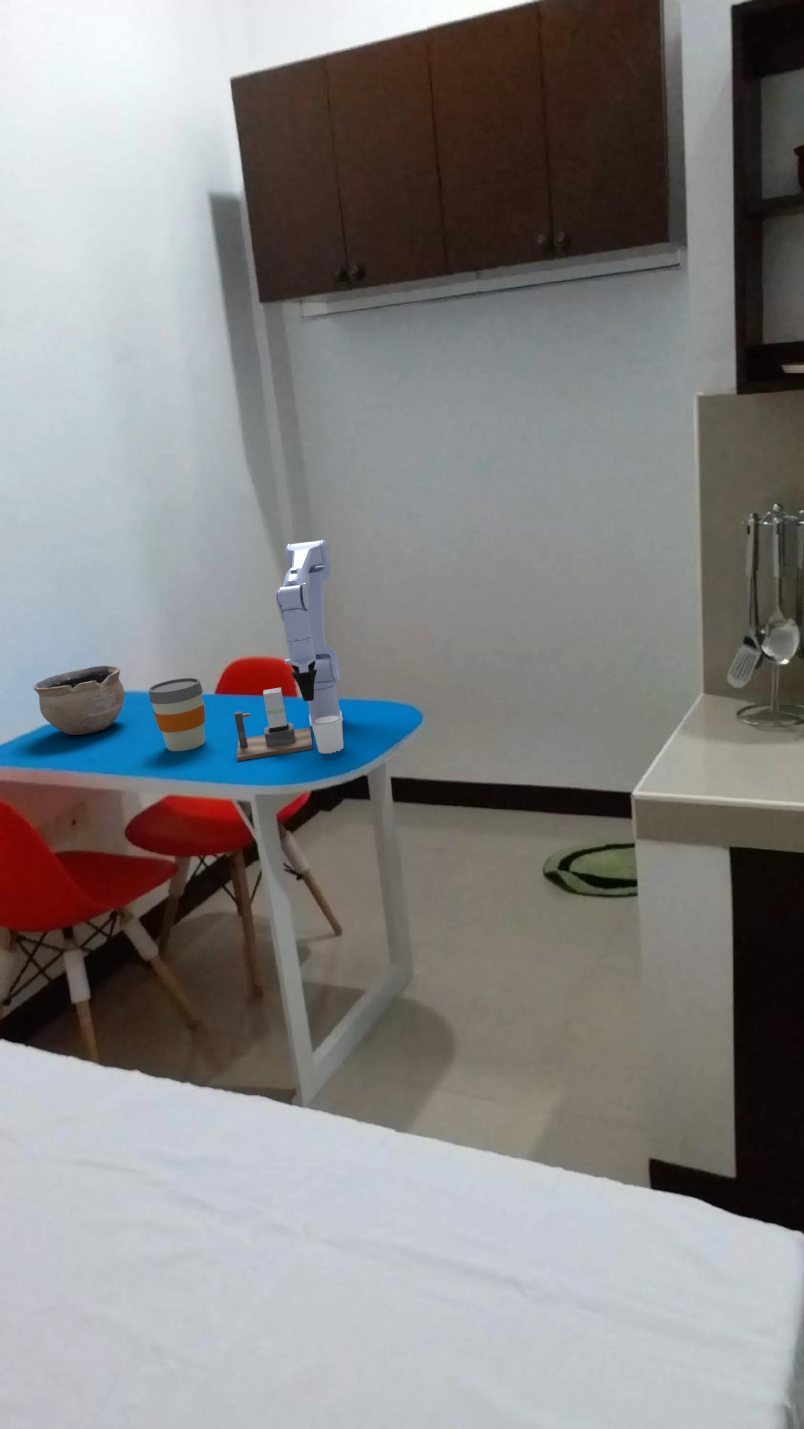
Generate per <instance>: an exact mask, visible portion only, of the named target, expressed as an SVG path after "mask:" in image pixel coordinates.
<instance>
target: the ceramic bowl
mask: <svg viewBox="0 0 804 1429" xmlns="http://www.w3.org/2000/svg"><path fill="white" fill-rule="evenodd" d="M120 673H121V669H120V668H119V667H118V666H114V665H113V666H112V665H99V666H91V667H86V668H82V669H78V670H72V671H68V672H65V673H61V674H55V675H53V676H50V677H47V678H45V679H43V680H40V681H38V682H36V683H35V684H33V687H32V688H33V690H35V692H36V693H37V694H38V698H39V699H38V700H39V704H38V705H39V711H40V713H41V715H42V717H43V719H45V721H47V722H48V723H49V724H50V725H51V727H53V728H55V729H56V730H59V731H60V732H63V733H64V734H67V735H76V736H80V735H81V736H82V735H88V734H94V733H97V732H101V731H103V730H106V729H107V728H108V727H111V725H113V724H114V723H115V721H116V720H117V718H118V716H119V715H120V714H121V711H122V709H123V706H124V702H125V697H126V696H125V694H126V693H125V689H124V685H123V684H122V682H121V680H120V678H119V677H120V675H121V674H120Z"/></svg>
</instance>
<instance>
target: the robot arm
mask: <svg viewBox="0 0 804 1429" xmlns="http://www.w3.org/2000/svg"><path fill="white" fill-rule="evenodd" d="M329 547H330V546H329V544H328V542H327V541H326V540H325V539H321V540H316V541H315V540H314V541H305V542H298V543H288V544H287V545H286V547H285V558H286V560H285V561H286V563H287V566H288V568H289V569H288V571H287V572H286V573H285V576H284V580H283V584H282V586H280V587H279V589H276V591H275V599H276V605H277V609H278V611H279V616H280V619H281V621H282V622H283V628H284V633H285V639H286V646H287V652H288V658H286V659H284V664H285V665H288V664H290V666H291V668H292V669H293V671H291V676H292V678H293V679H294V681H295V683H296V684H297V685H298V688H299V692H300V694H301V697H302V700H303V701H304V702H306V703H308V710H309V715H308V718H309V725H310V726H309V728H312V724H311V721H312V720H314V719H316V718H319V717H322V716H328V715H338V716H341V718H342V723H343V722H344V718H343V714H342V710H340V705H339V697H338V691H337V685H336V684H337V683H339V681H340V679H341V667H340V662H339V655H338V653H337V652H336V650H335V649H334V648H332V647H330V646H329V645H327V640H326V624H325V623H326V620H325V618H326V617H325V601H324V600H325V599H324V598H325V597H324V588H325V587H324V586H325V580H327V579H328V578H329V577H330V576H331V570H332V569H331V554H330V548H329Z"/></svg>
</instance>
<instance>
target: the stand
mask: <svg viewBox="0 0 804 1429" xmlns="http://www.w3.org/2000/svg"><path fill="white" fill-rule="evenodd" d="M250 715H251V714H250V713H242V711H236V712H235V711H234V720H235V726H236V731H237V737H238V742H237V749H236V750H237V751H236V752H237V753H236V761H237V762H243V761H248V760H247V759H249V760H254V759H260V758H265V757H266V758H267V757H271V756H272V757H273V756H278V755H285V754H290V753H296V752H302V751H309V750H313V748H314V746H313V737H312V729H311V727H306V728H300V729H298V728H297V729H294V728H295V727H294V723H291V722H287V725H286V726H280V727H274V728H269V725H268V726H266V727H264V732H263V733H264V734H263V735H256V736H250V737H249V736H248V737H247V734H246V729H245V724H244V718H249V717H250ZM242 760H243V761H242Z"/></svg>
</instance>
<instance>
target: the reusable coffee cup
mask: <svg viewBox="0 0 804 1429" xmlns="http://www.w3.org/2000/svg"><path fill="white" fill-rule="evenodd" d="M203 693H204V691H203V687H202V684H201V680H200V679H199V678H196V677H183V678H176V679H175V678H174V679H171V680H166V681H161V682H159V683H157V684H154V685H152V686H150V687H149V688H148V697H149V702H150V703H151V704H152V707H153V710H154V711H153V716H154V719H155V720H156V725H157V727H158V730H159V731H160V732H161V733H162V736H163V739H164V742H165V745H166V747H167V750H168V751H171V752H184V751H188V750H192V749H196V748H198V747H201V746H202V745H204V744H205V742H206V737H205V725H204V724H205V722H206V714H205V712H206V711H205V702H204V701H203Z"/></svg>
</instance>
